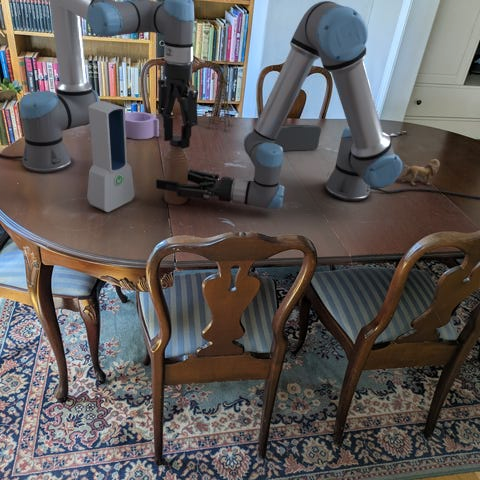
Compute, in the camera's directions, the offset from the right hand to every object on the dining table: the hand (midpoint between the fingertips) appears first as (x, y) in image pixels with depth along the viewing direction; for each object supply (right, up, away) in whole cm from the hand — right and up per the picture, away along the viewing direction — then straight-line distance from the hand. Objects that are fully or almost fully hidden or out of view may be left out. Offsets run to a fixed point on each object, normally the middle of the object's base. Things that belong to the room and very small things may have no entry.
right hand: (160, 178), depth 144 cm
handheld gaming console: (+46, +18, +47) cm, 68 cm away
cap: (+6, +10, -8) cm, 14 cm away
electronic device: (-14, -8, -3) cm, 17 cm away
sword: (+92, +28, +70) cm, 119 cm away
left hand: (+6, +9, -7) cm, 13 cm away
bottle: (+4, -6, +3) cm, 8 cm away
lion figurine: (+91, +2, +31) cm, 96 cm away
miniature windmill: (+15, +31, +62) cm, 71 cm away
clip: (-19, +24, +46) cm, 55 cm away
